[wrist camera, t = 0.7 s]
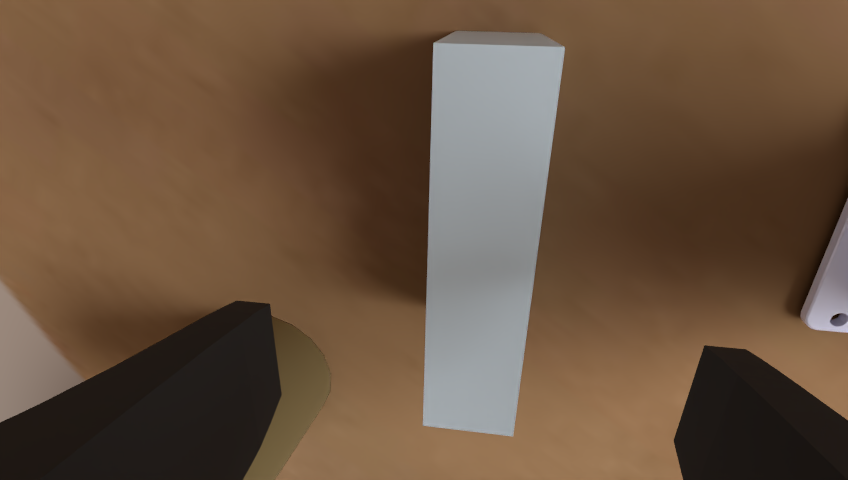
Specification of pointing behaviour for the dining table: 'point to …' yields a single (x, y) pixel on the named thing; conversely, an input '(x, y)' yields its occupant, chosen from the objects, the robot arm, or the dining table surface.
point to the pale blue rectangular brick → (485, 220)
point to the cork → (292, 399)
